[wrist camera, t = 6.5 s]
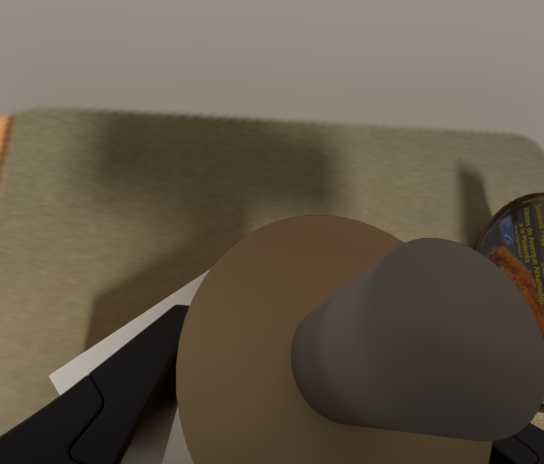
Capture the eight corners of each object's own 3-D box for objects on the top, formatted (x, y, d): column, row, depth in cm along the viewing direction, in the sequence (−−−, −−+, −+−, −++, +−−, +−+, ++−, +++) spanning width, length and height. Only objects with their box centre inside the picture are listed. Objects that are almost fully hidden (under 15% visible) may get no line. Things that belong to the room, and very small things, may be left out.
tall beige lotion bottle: (251, 466, 14) (803, 995, 1) (163, 415, 14) (-18, 503, 2) (292, 370, 16) (677, 245, 3) (215, 326, 16) (317, 52, 3)
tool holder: (179, 554, 17) (177, 600, 13) (77, 381, 19) (48, 375, 15) (320, 407, 21) (351, 407, 17) (224, 279, 23) (231, 254, 19)
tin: (470, 223, 31) (560, 166, 23) (502, 233, 31) (601, 180, 24) (484, 409, 23) (620, 413, 16) (525, 420, 24) (678, 429, 16)
